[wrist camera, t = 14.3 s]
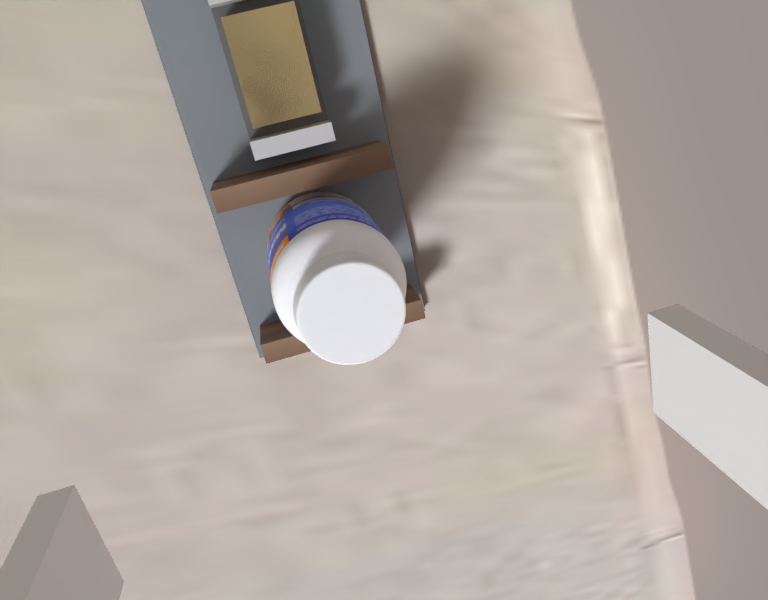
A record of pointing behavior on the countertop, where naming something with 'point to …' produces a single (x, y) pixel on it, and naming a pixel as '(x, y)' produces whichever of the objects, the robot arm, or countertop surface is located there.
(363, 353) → the pill bottle
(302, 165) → the trough
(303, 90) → the pad
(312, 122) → the cradle base
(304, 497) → the countertop surface
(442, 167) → the countertop surface
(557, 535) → the countertop surface
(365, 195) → the mat
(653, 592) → the countertop surface
